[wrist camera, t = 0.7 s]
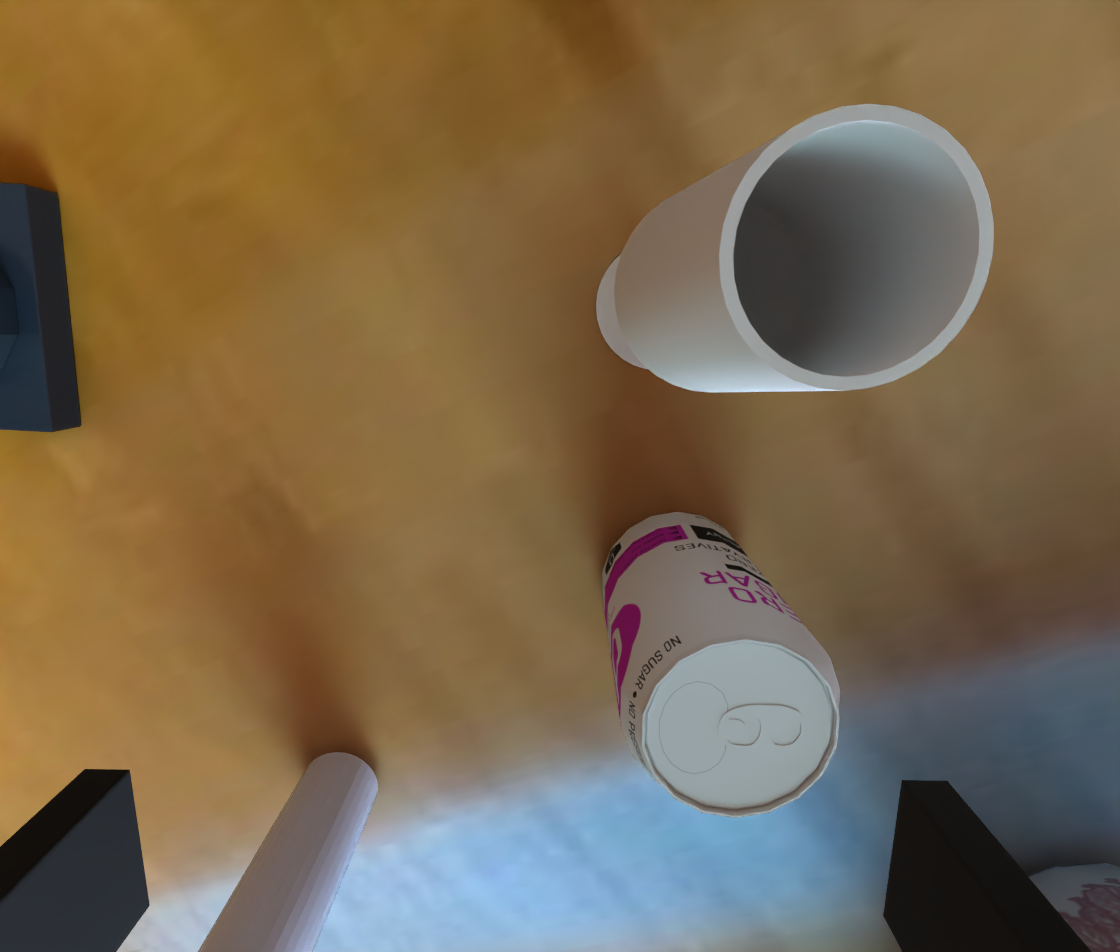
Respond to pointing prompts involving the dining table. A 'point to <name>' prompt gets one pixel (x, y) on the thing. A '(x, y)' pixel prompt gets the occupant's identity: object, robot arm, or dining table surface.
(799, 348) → the champagne flute
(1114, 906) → the chamber pot
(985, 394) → the dining table surface
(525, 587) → the dining table surface
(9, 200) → the button housing
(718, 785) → the supplement can
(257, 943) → the perfume bottle
